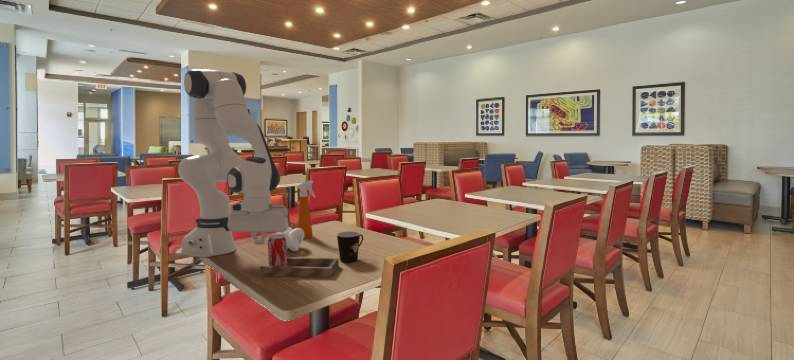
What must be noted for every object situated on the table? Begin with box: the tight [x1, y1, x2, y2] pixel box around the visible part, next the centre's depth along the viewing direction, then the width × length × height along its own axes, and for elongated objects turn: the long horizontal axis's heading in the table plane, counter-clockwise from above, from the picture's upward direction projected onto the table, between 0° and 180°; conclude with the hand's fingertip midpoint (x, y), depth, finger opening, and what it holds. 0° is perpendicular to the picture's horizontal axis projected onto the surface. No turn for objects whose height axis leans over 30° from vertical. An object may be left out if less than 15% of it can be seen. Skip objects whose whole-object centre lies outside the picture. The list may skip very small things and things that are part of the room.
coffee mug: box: [336, 230, 364, 264], centre depth 157 cm, size 12×9×10 cm
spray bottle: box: [297, 180, 317, 239], centre depth 191 cm, size 7×11×26 cm, turn 58°
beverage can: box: [267, 234, 288, 266], centre depth 145 cm, size 6×6×12 cm
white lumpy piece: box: [276, 226, 305, 252], centre depth 171 cm, size 11×12×9 cm
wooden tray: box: [259, 256, 340, 278], centre depth 145 cm, size 24×11×3 cm, turn 85°
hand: (259, 244), depth 145 cm, fingers closed
